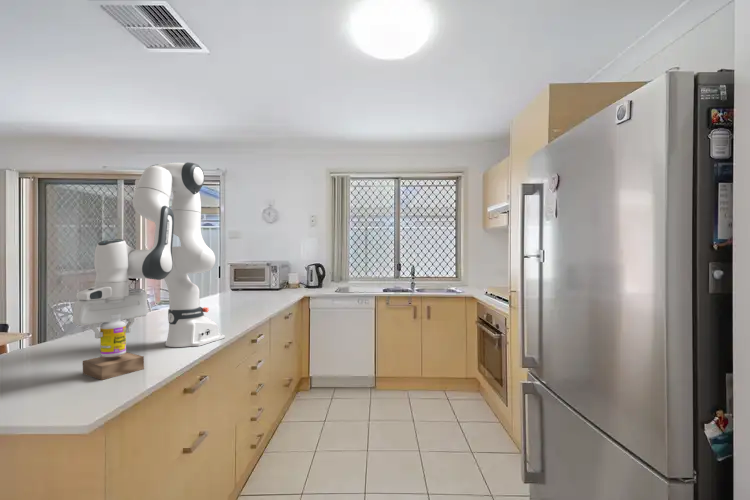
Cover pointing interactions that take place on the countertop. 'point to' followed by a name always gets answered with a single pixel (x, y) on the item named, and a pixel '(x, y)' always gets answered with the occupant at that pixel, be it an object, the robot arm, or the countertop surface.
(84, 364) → the walnut base
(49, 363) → the countertop surface
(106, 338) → the supplement bottle
